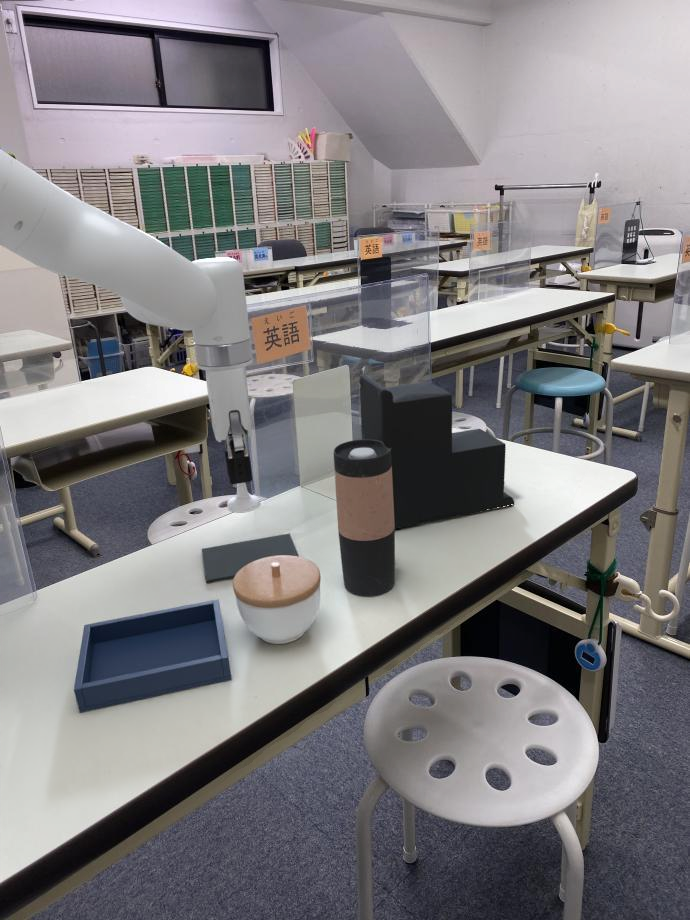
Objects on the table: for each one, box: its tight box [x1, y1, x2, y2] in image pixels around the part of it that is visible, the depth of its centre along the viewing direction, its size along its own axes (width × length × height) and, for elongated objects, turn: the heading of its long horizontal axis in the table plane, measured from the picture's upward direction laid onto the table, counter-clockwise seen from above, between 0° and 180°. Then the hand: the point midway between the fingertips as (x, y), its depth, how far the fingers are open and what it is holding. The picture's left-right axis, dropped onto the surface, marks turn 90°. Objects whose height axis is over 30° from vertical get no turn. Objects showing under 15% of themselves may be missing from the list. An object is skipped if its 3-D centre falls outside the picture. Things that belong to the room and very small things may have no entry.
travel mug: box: [333, 439, 396, 597], centre depth 92 cm, size 8×8×20 cm
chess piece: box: [226, 482, 262, 514], centre depth 99 cm, size 5×5×10 cm
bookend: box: [358, 373, 515, 530], centre depth 112 cm, size 23×11×24 cm, turn 108°
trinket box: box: [232, 555, 322, 645], centre depth 85 cm, size 11×11×9 cm
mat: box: [201, 533, 300, 584], centre depth 104 cm, size 14×10×1 cm
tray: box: [73, 598, 233, 714], centre depth 81 cm, size 17×13×3 cm
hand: (240, 477), depth 99 cm, fingers closed on chess piece
